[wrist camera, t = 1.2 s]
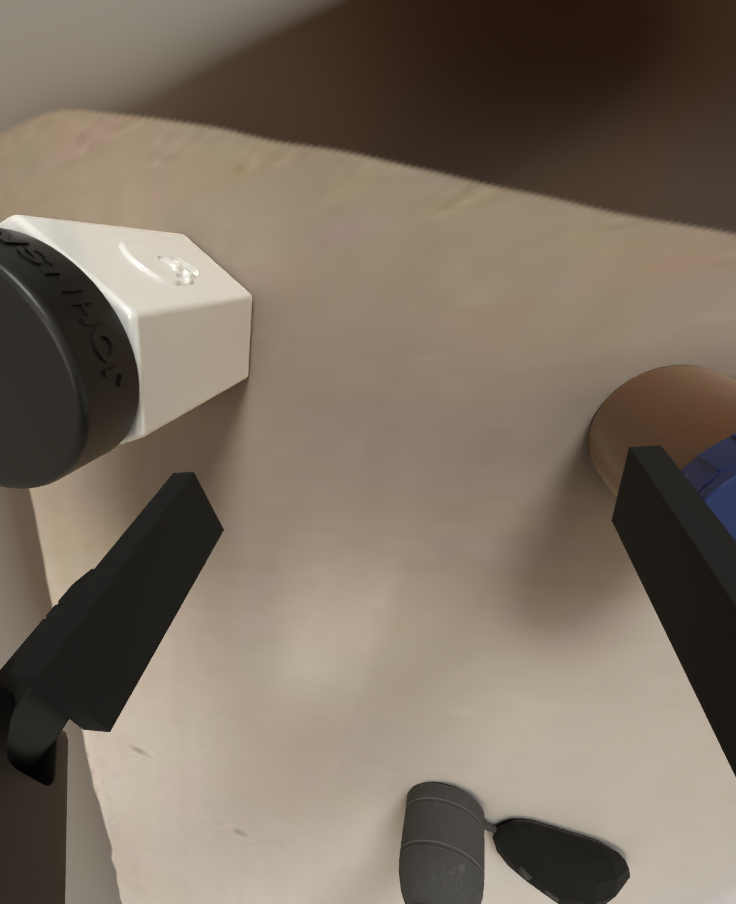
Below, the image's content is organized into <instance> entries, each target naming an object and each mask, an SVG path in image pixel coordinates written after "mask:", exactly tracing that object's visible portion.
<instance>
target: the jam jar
mask: <svg viewBox="0 0 736 904" xmlns="http://www.w3.org/2000/svg"><path fill="white" fill-rule="evenodd" d="M732 433H736V379H734V378H731V377H729V376H726V375H724V374H721V373H719V372H716V371H713V370H710V369H708V368H704V367H699V366H690V365H677V366H669V367H663V368H659V369H655V370H652V371H649V372H646V373H644V374H641V375H639V376H637V377H635V378H633V379H631V380H630V381H628V382H627V383H625V384H624V385H622V386H621V387H620V388H618V389H617V390H616V391H615V392H614V393H613V394H612V395H611V396H610V397H609V398H608V399H607V400H606V401H605V402H604V403H603V405H602V406H601V407H600V409H599V410H598V412H597V414H596V415H595V418H594V420H593V422H592V425H591V428H590V432H589V438H588V449H589V455H590V458H591V461H592V463H593V465H594V467H595V469H596V470H597V472H598V473H599V475H600V476H601V477H602V479H603V480H604V481H605V483H606V484H607V485H608V487H609V488H610V489H611V491H612V492H613V493H614V495H615V496H616V498H617V496H618V492H619V487H620V483H621V479H622V474H623V470H624V466H625V461H626V457H627V453H628V449H629V447H638V446H655V445H661V446H662V447H663V448H664V450H665V451H666V452H667V454H668V455H669V456H670V457H671V459H672V460H673V461H674V463H675V464H676V465H677V466H678V468H679V469H680V470H682V469H683V468H684V467H685V466H686V465H687V464H688V463H690V462H691V461H692V460H693V459H694V458H696V457H697V454H698V453H702V452H704V451H705V450H707V449H708V448H710V447H711V446H713V445H714V444H716V443H718V442H720V441H722V440H724V439H725V438H727V437H729V436H731V434H732Z"/></svg>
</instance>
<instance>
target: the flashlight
mask: <svg viewBox="0 0 736 904" xmlns="http://www.w3.org/2000/svg"><path fill="white" fill-rule="evenodd" d="M399 876H400V886H401V892H402V896H403V899H404V902H405V904H481V901H482V898H483V889H484V812H483V810H482V808H481V806H480V805H479V804H478V803H477V802H476V801H475V800H474V799H473V798H472V797H471V796H469V795H468V794H466V793H465V792H463V791H461V790H459V789H457V788H454V787H451V786H448V785H444V784H439V783H423V784H420V785H417V786H415V787H413V788H412V789H411V790H410V791H409V793H408V796H407V803H406V811H405V818H404V826H403V833H402V841H401V849H400V858H399Z"/></svg>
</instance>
